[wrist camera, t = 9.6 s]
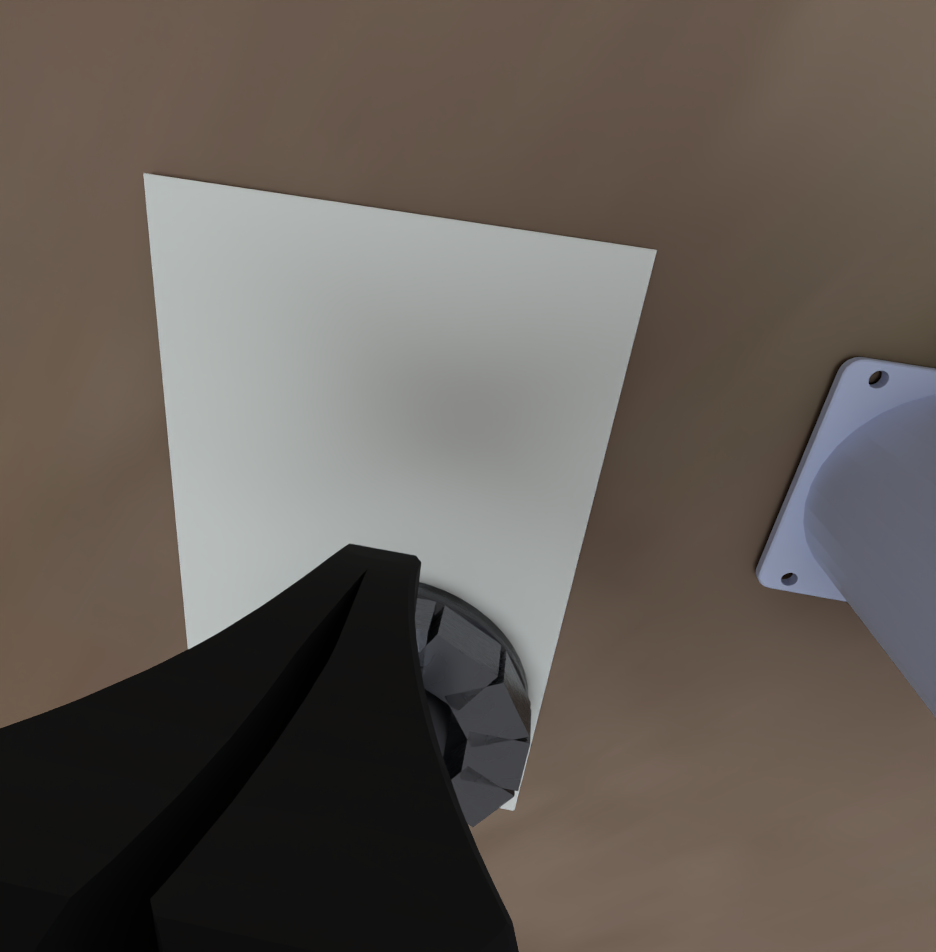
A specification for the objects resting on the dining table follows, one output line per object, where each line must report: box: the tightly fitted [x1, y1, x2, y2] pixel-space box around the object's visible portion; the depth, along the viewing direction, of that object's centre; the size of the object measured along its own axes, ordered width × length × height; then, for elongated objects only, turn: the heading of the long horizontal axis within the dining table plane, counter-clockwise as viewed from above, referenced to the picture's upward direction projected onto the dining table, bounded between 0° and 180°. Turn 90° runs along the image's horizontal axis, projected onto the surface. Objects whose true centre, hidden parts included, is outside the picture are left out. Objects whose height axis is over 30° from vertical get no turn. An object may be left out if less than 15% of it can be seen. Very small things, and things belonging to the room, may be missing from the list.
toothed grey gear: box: [415, 582, 531, 827], centre depth 23 cm, size 11×11×3 cm
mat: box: [143, 173, 657, 811], centre depth 22 cm, size 15×24×1 cm, turn 172°
